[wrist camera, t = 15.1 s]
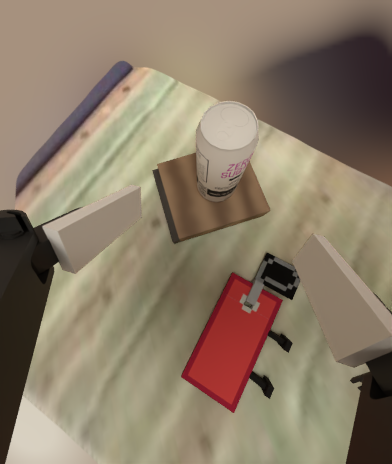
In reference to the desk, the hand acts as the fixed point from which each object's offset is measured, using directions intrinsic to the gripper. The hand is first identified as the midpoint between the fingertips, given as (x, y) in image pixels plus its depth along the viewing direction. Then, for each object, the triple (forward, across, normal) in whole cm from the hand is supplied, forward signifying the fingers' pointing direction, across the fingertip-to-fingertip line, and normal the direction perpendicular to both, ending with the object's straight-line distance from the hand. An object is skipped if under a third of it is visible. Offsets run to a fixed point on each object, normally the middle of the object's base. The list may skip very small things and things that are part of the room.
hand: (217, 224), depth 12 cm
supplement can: (+23, -2, -4) cm, 24 cm away
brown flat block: (+25, -3, -7) cm, 27 cm away
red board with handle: (+8, +12, -26) cm, 30 cm away
